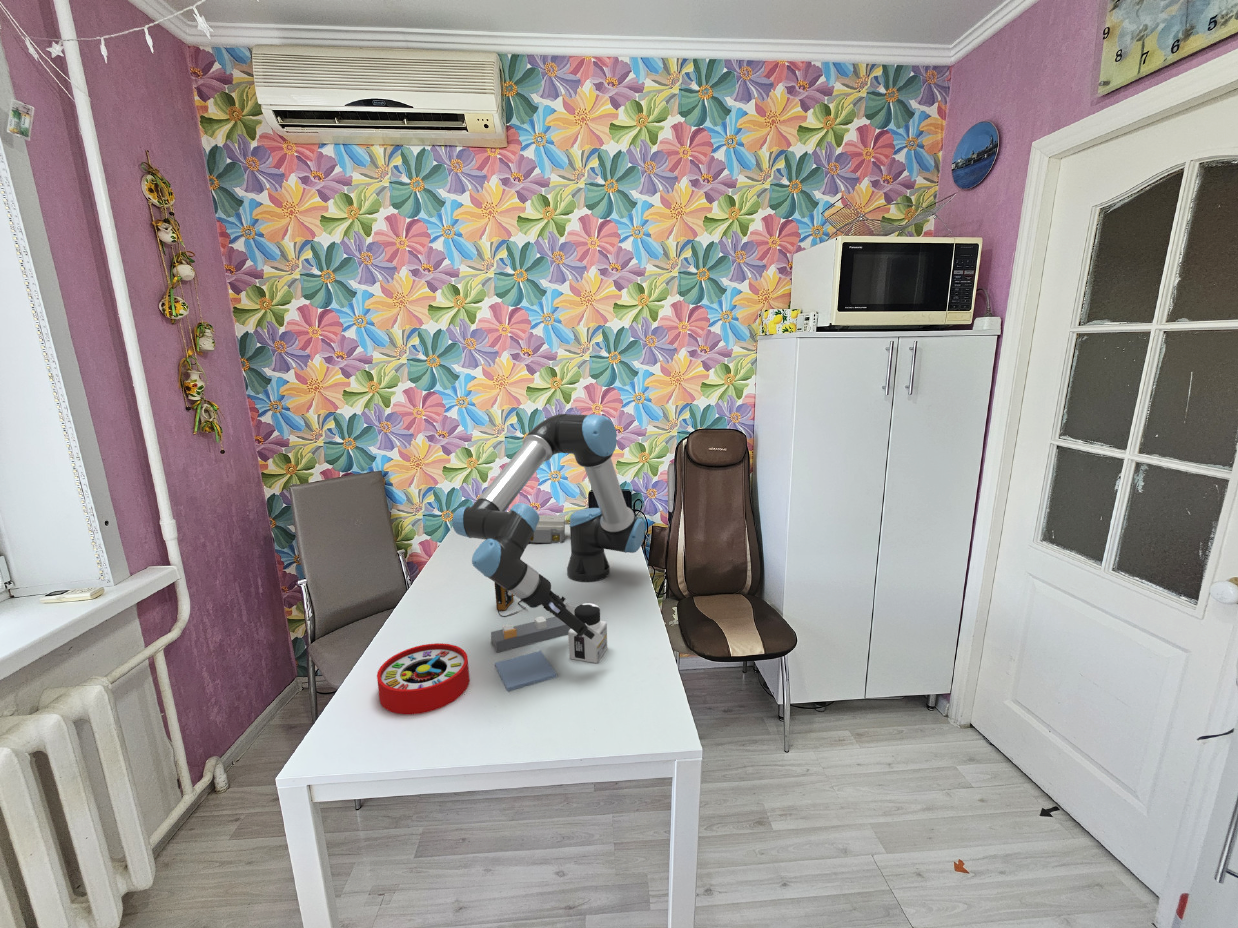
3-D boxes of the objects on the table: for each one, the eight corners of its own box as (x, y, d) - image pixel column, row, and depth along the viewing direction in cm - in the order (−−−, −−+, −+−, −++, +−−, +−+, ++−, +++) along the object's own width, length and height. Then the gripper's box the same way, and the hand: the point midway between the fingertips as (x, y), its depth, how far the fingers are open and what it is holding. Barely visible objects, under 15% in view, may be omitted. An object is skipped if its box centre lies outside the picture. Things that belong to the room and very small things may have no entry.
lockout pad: (540, 653, 141) (540, 650, 140) (556, 676, 130) (556, 673, 130) (494, 665, 135) (494, 662, 135) (507, 691, 125) (507, 688, 125)
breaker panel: (580, 620, 158) (579, 604, 157) (588, 628, 153) (587, 612, 152) (491, 642, 147) (490, 625, 146) (496, 652, 141) (495, 634, 141)
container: (597, 663, 135) (595, 615, 133) (569, 658, 138) (566, 611, 135) (607, 648, 142) (606, 602, 140) (580, 643, 145) (578, 598, 142)
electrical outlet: (510, 535, 234) (510, 513, 232) (576, 536, 236) (577, 514, 235) (507, 544, 222) (507, 521, 221) (576, 545, 225) (577, 522, 223)
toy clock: (356, 683, 120) (415, 638, 138) (359, 706, 121) (417, 659, 140) (433, 697, 114) (483, 649, 133) (436, 722, 115) (485, 670, 134)
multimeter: (522, 618, 160) (518, 554, 156) (491, 616, 162) (486, 552, 158) (539, 597, 174) (536, 538, 170) (510, 595, 176) (506, 536, 172)
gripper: (505, 580, 140) (562, 621, 149) (535, 620, 118) (600, 665, 127) (524, 557, 141) (580, 598, 150) (557, 592, 119) (619, 639, 128)
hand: (589, 629), depth 139 cm, fingers open, 13 cm apart
